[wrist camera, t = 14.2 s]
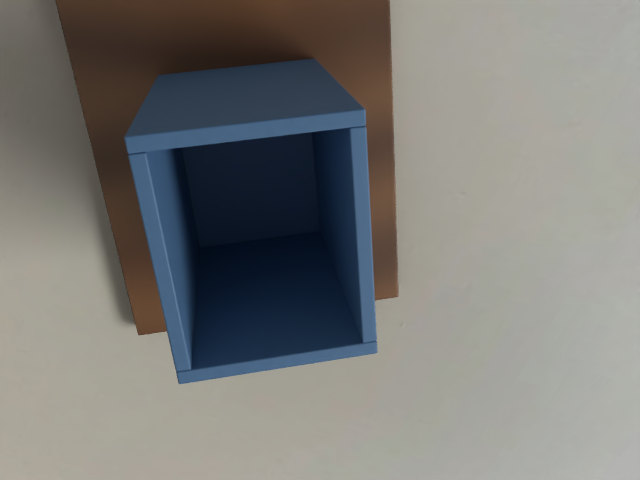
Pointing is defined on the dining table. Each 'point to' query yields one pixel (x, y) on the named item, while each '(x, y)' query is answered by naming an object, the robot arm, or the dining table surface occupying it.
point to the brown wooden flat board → (215, 53)
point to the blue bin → (256, 217)
